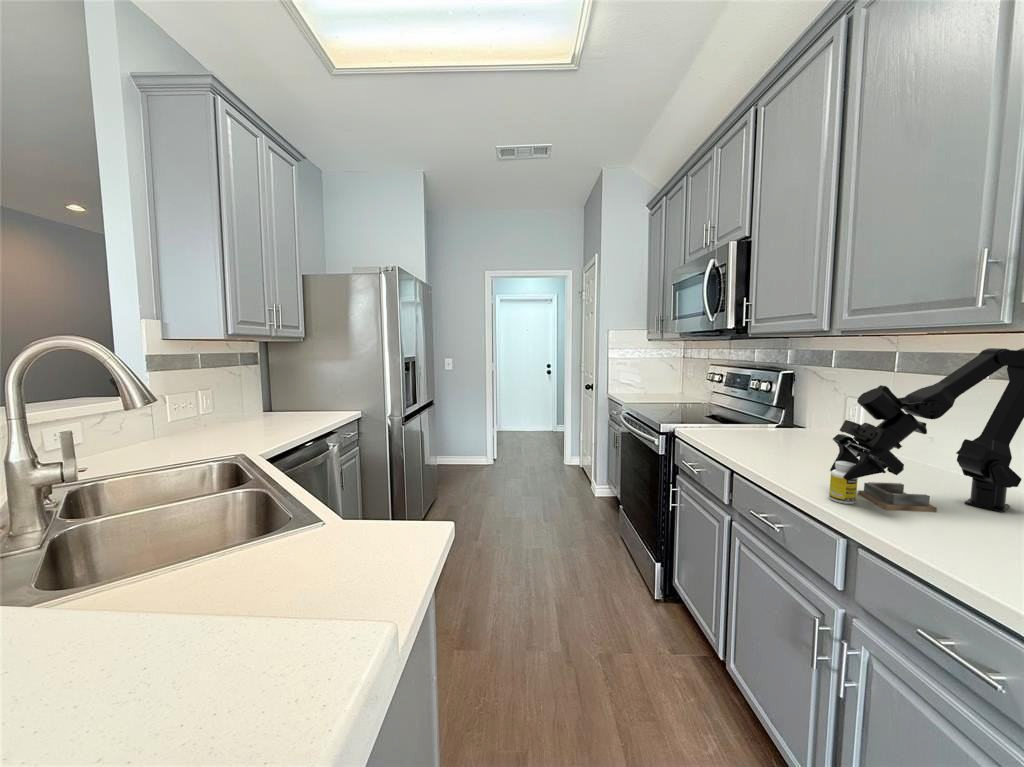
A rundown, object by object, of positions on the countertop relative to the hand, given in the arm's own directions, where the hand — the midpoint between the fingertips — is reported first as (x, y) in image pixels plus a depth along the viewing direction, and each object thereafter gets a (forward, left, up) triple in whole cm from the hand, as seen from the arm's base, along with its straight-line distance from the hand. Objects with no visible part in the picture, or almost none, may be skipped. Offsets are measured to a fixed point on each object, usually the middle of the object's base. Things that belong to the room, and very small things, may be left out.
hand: (837, 475), depth 110 cm
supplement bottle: (-1, +1, -7) cm, 7 cm away
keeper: (-10, +9, -7) cm, 15 cm away
